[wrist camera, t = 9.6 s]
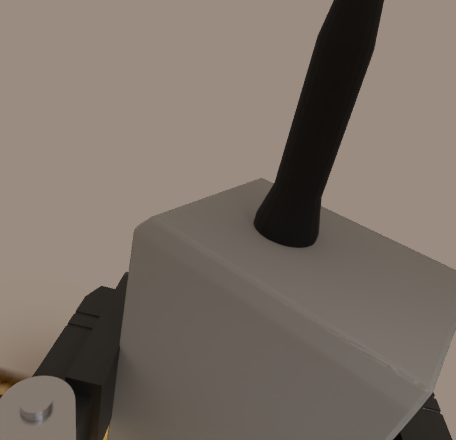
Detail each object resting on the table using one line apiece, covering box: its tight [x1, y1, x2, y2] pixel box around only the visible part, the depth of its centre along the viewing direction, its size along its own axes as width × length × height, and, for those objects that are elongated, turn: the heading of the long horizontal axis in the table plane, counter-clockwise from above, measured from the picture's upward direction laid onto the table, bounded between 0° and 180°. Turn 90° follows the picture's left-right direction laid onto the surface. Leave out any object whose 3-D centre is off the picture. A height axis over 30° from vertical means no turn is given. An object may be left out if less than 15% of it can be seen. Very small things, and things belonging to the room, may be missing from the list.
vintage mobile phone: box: [107, 0, 456, 440], centre depth 9 cm, size 4×5×25 cm
